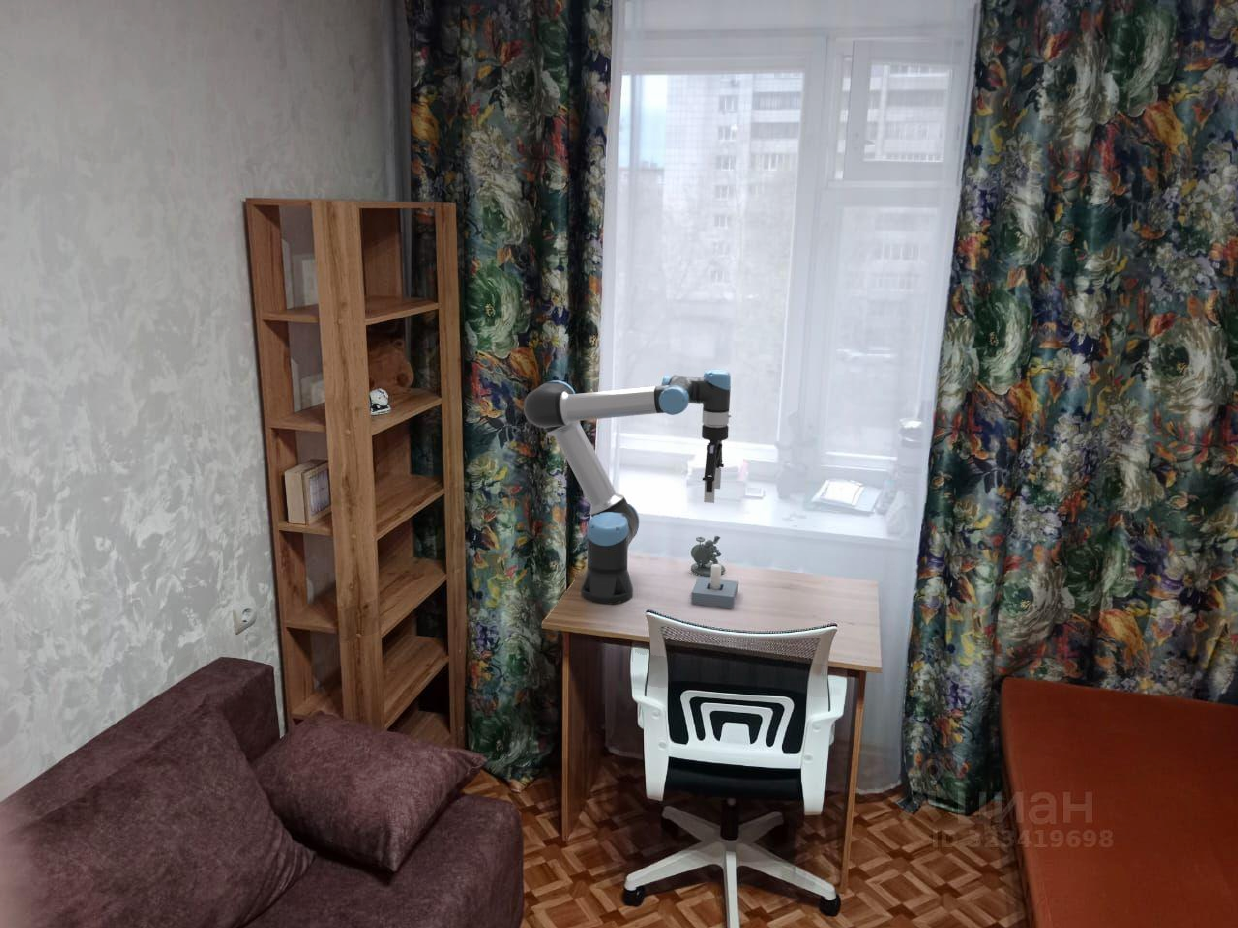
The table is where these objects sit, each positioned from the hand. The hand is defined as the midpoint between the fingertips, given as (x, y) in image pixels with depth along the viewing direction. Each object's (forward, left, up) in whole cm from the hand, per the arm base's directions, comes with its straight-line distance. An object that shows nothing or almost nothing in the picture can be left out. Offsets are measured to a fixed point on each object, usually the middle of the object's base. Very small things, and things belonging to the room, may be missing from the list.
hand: (712, 495), depth 270 cm
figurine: (-2, +12, -29) cm, 31 cm away
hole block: (+3, -8, -29) cm, 30 cm away
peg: (+3, -8, -29) cm, 30 cm away
